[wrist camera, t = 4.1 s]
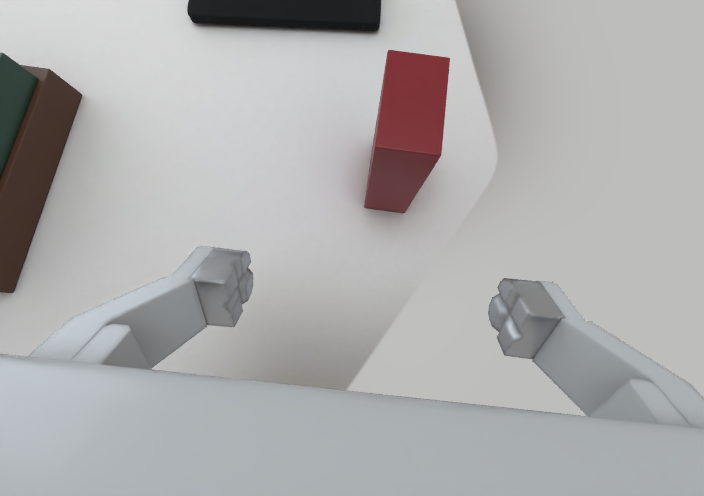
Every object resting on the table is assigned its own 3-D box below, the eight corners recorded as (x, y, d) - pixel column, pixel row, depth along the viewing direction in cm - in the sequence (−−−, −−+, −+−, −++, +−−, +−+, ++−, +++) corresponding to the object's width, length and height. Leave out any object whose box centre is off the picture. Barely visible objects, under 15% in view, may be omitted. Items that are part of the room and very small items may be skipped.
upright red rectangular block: (404, 213, 25) (441, 155, 15) (364, 207, 25) (374, 146, 15) (411, 148, 26) (450, 55, 16) (372, 143, 26) (388, 47, 16)
